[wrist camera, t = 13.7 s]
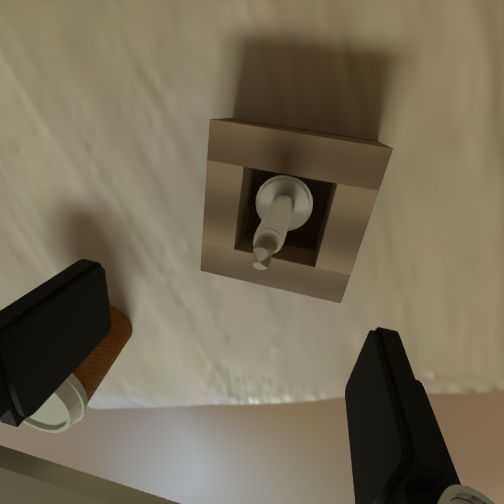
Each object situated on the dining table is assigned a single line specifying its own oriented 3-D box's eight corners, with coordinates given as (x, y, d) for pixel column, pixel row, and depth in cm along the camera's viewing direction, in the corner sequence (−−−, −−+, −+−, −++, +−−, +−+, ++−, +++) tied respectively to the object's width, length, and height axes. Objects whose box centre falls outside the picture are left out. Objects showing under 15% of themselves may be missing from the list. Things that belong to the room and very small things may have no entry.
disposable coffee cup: (153, 319, 36) (84, 403, 26) (131, 362, 41) (64, 448, 30) (87, 280, 36) (-11, 349, 25) (72, 327, 40) (-16, 402, 30)
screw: (293, 159, 25) (324, 204, 26) (249, 191, 27) (280, 232, 28) (268, 198, 13) (325, 277, 14) (195, 249, 15) (250, 315, 16)
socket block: (232, 118, 24) (209, 118, 20) (377, 141, 23) (393, 148, 18) (220, 245, 30) (200, 270, 25) (337, 270, 28) (340, 303, 23)
